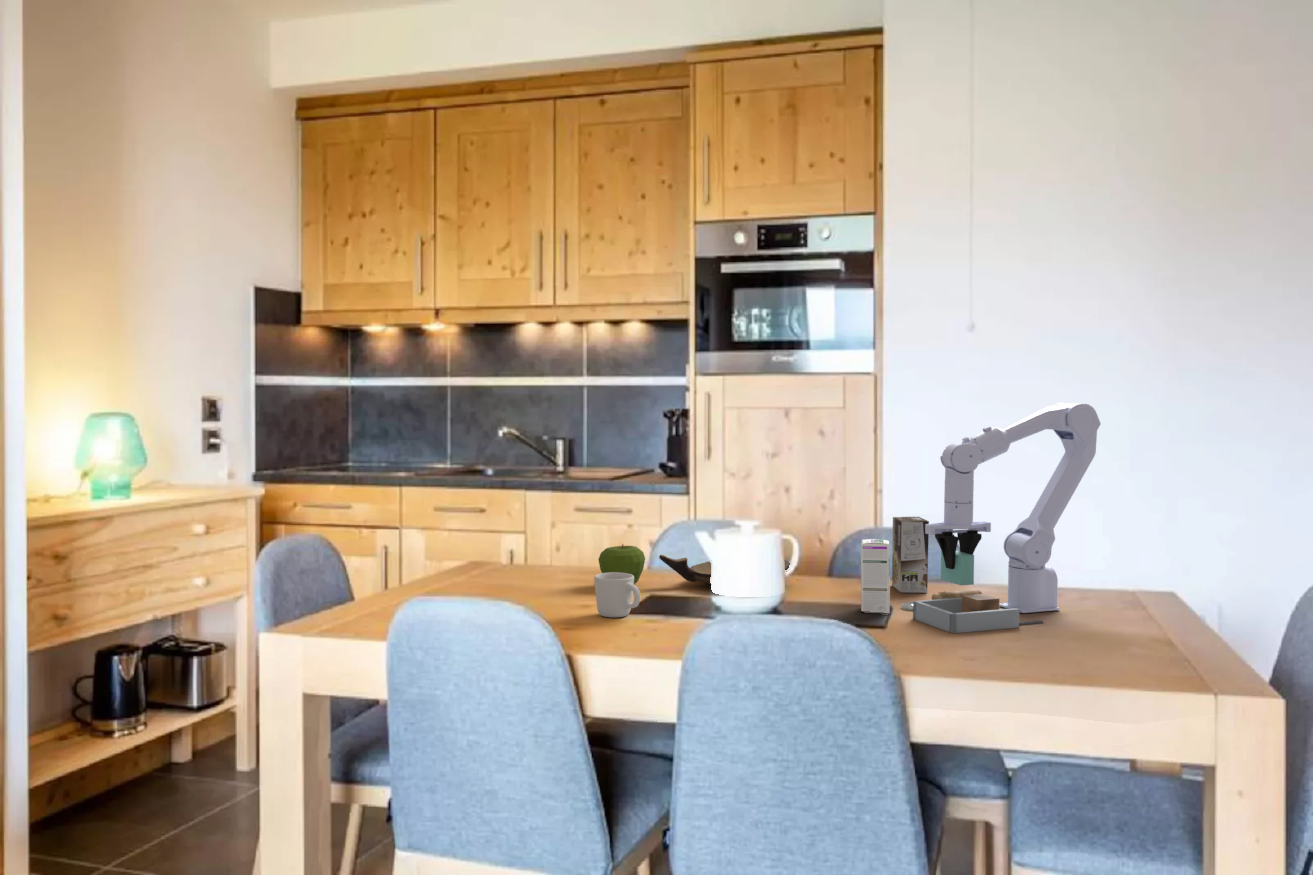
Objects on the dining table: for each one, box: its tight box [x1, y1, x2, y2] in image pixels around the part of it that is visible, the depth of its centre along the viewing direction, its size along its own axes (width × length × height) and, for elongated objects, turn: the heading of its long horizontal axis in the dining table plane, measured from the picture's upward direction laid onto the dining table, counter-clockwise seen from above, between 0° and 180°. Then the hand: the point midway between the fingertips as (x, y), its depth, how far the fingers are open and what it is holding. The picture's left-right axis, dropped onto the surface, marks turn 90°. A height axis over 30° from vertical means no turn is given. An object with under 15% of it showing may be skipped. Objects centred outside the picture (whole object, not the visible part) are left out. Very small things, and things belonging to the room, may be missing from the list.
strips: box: [1019, 619, 1044, 626], centre depth 211 cm, size 6×10×1 cm, turn 20°
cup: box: [593, 572, 641, 619], centre depth 211 cm, size 11×8×8 cm
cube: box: [962, 593, 1000, 613], centre depth 208 cm, size 5×5×5 cm
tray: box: [912, 598, 1020, 634], centre depth 207 cm, size 15×13×4 cm
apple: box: [597, 543, 646, 585], centre depth 242 cm, size 11×10×10 cm
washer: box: [901, 601, 913, 612], centre depth 221 cm, size 4×4×1 cm
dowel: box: [930, 589, 983, 600], centre depth 228 cm, size 12×2×2 cm, turn 110°
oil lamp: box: [658, 554, 791, 585], centre depth 246 cm, size 22×30×8 cm
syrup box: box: [860, 538, 891, 614], centre depth 217 cm, size 6×6×14 cm
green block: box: [940, 550, 975, 586], centre depth 219 cm, size 3×7×6 cm, turn 19°
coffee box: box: [891, 516, 930, 594], centre depth 241 cm, size 9×6×16 cm
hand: (957, 568), depth 219 cm, fingers closed on green block, 3 cm apart
